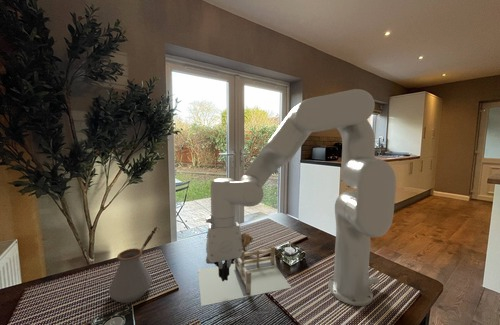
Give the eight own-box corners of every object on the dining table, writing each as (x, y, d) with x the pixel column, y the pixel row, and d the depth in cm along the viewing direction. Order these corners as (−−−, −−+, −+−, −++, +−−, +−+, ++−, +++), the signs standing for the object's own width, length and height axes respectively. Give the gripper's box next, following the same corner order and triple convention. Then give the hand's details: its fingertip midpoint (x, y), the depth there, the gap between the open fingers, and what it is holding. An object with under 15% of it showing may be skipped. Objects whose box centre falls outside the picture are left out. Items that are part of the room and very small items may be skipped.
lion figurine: (254, 254, 89) (254, 233, 88) (244, 258, 86) (244, 236, 85) (235, 241, 101) (235, 222, 100) (225, 244, 97) (225, 225, 97)
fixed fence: (273, 262, 82) (273, 246, 81) (274, 264, 81) (274, 247, 80) (239, 268, 78) (239, 250, 78) (240, 269, 77) (240, 252, 77)
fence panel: (234, 267, 78) (234, 250, 77) (237, 267, 78) (238, 250, 78) (247, 293, 65) (247, 273, 64) (250, 292, 65) (251, 272, 64)
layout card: (270, 259, 85) (270, 257, 85) (291, 288, 68) (291, 287, 68) (197, 270, 77) (197, 268, 77) (201, 307, 60) (201, 305, 60)
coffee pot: (137, 310, 59) (135, 258, 58) (99, 306, 61) (96, 255, 59) (173, 265, 80) (172, 227, 79) (144, 263, 82) (142, 225, 80)
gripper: (199, 228, 58) (200, 292, 60) (251, 221, 63) (251, 280, 65) (196, 218, 65) (197, 276, 67) (243, 213, 70) (243, 266, 72)
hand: (223, 278), depth 66 cm, fingers closed
